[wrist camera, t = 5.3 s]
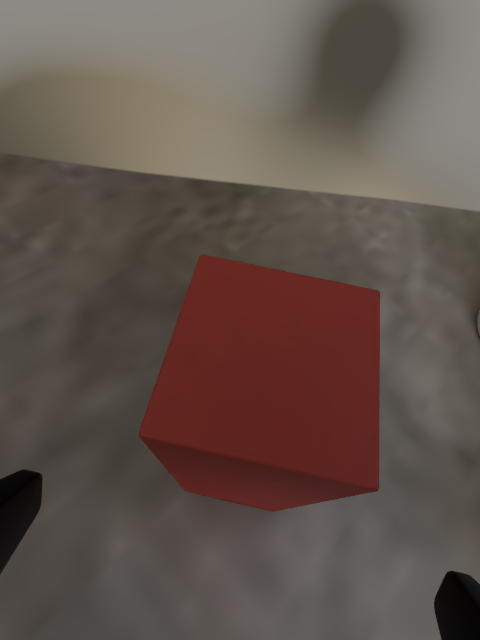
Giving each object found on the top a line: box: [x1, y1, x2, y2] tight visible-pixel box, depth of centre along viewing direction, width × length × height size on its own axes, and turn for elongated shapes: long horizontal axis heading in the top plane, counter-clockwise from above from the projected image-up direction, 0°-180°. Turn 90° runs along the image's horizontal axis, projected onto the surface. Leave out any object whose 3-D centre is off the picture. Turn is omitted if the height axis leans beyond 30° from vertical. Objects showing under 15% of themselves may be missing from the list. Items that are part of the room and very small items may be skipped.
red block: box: [139, 254, 380, 511], centre depth 13 cm, size 4×4×12 cm
